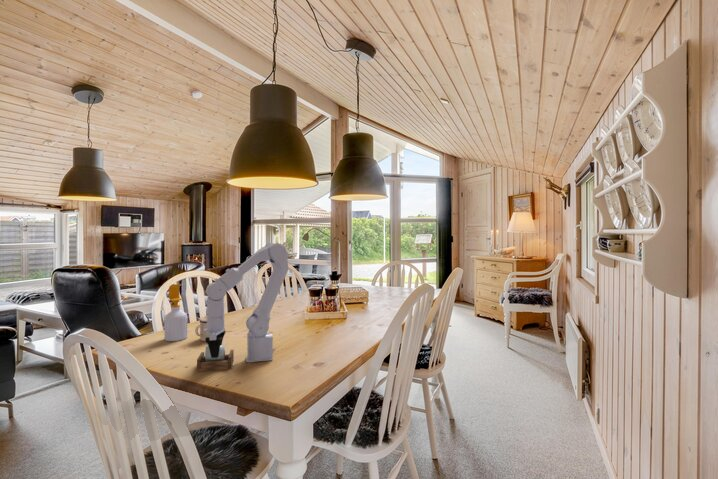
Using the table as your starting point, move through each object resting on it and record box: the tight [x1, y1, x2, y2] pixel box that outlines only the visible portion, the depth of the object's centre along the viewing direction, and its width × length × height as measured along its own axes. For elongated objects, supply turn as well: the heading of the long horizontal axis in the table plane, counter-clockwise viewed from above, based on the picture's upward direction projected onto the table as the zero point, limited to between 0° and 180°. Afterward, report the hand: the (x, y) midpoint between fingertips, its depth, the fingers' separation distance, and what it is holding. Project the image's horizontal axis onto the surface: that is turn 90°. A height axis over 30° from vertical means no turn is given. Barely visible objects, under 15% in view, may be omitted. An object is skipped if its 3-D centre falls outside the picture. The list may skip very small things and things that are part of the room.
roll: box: [204, 344, 226, 361], centre depth 122 cm, size 6×5×5 cm
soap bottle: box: [163, 283, 188, 342], centre depth 154 cm, size 9×9×25 cm
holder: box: [196, 349, 235, 373], centre depth 122 cm, size 11×8×4 cm
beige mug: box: [194, 314, 210, 342], centre depth 153 cm, size 12×9×12 cm
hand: (216, 354), depth 122 cm, fingers closed on roll, 5 cm apart
